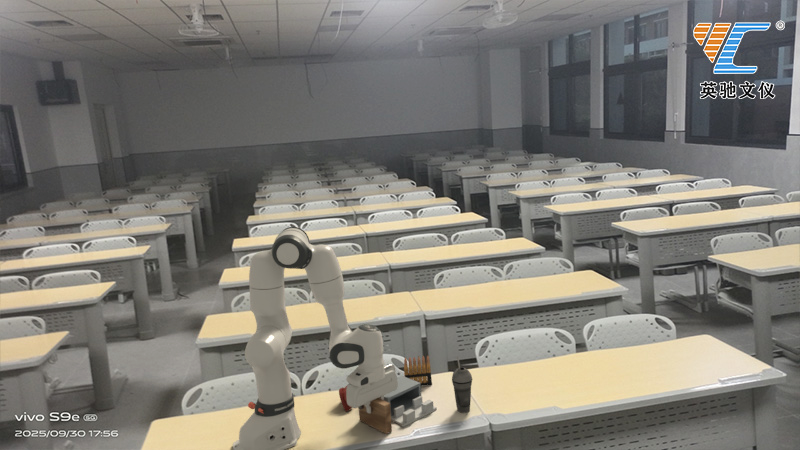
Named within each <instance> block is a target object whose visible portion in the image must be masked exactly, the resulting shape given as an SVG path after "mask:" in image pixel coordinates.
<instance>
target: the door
mask: <svg viewBox="0 0 800 450" xmlns="http://www.w3.org/2000/svg"><path fill="white" fill-rule="evenodd" d="M369 406H371V407H373V412H372V413H370V414H369V413H367V409H366V407H365V405H362V406H359V407H357V408H358V413H359V414H358V415H359V417H358V418H359V421H360V422H362V423H364V424H366V425H367V426H370V427H372V428H374V429H376V430H377V431H379V432H382V433H383V434H386V435H387V434H389V433H391V432H392V431H393V429H392V421H391V410H390V403H389V402H386V401H384V400H382V399H380V398H377V399H375V400H373V401H370V404H369Z"/></svg>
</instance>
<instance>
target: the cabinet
mask: <svg viewBox="0 0 800 450" xmlns="http://www.w3.org/2000/svg"><path fill="white" fill-rule="evenodd" d="M397 381H398V387H397V389H396V390H394V391H392V392H390V393H388V394H386V395H384V399H383V400H384V401H386V402H389V403H390V410H391V422H393V423H395V424H397V425H399V426H401V427H406V426H408V425H410V424H412V423H414V422H416V421H418V420H419V419H422V418H423V417H426V416H428V415H429V414H431V413H433V412H435V411H437V407H436V406H434V401H433V400H431V399H428V400H425V401H423V396H422V386H421V383H420V382H417V381H414V379H413V380H412V379H409V378H407V377H405V376H403V375H400V376H398V377H397Z"/></svg>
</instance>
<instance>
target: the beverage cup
mask: <svg viewBox="0 0 800 450" xmlns="http://www.w3.org/2000/svg"><path fill="white" fill-rule="evenodd" d="M456 360H457V366H458V368H457V369H455V370H454V371H453V373H452V376H451V383H452V386H453V391H454V398H455V399H454V400H455V405H456V411H457V412H458V413H461V414H466V413H469V412H470V411H471V397H472V396H471V395H472V384H473V377H472V373H471V372H470V370H468V369H467V368H465V367H461V364H460V359H459V356H458V355H457V356H456Z"/></svg>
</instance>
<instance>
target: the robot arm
mask: <svg viewBox="0 0 800 450" xmlns="http://www.w3.org/2000/svg"><path fill="white" fill-rule="evenodd" d="M285 269H289V270H290V269H297V270H305V273H306V275H307V280H308V284H309V288H310V291H311V293H312V295H313V297H314V300H315V301H316V302H317V304H320V305H321V306H323V308H324V311H325V314H326V317H327V321H328V325H329V331H330V332H329V337H328V347H329V349H328V350H329V360H330V363H332V365H333V366H334V367H336V368H339V369H349V368H354V367H355V369H354V370H353V371H352V372H350V374H348V375H347V376H346V382H347V383H348V384H347V385H346V386H347V389H346V398H347V404H348V405H349V406H350V407H352V408H351V409H357V408H358V407H359V406H362V405H365V407H366V409H367V413H369V414H370V413H372V412H373V407H371V406H369V404H370V401H373V400H375V399H377V398H380V399H382V400H383V399H384V395H386V394H388V393H390V392H392V391H394V390H396V389H397V387H398V381H397V378H398V377H397V373H396V371H397V370H396V366H395V365H394V364H391V363H388V365H385V360H384V357H383V355H384V341H383V335H382V332H381V330H380V329H379V328H378V327H377V326H375V325H373V324H369V323H367V324H365V323H364V324H360V325H358V326H357V328H355V329H354V330H353V329H352V327H351V326H350V325H349V323H348V319H347V316H346V312H345V308H344V302H343V301H344V297H345V283H344V277H343V272H342V268H341V265H340V262H339V260H338V258H337V254H336V253H335V250H334V249H333V248H332V246H330V245H327V244H321V243H320V244H316V245H315V244H311V243H310V238H309V236H308V234H307V232H306V231H304V229H302V228H299V227H296V226H291V227H287V228H284V229H283V230H281V231H280V233H279V234H278V235H277V236H276V238H275V239H274V242H273V244H272V247H271V249H269V250H262V251H259V252H256V253H255V254H254V255H253V256H252V257H251V260H250V265H249V273H248V274H249V275H248V279H249V280H248V281H249V282H248V285H249V305H250V311H251V312H252V314H253V316H254V319H255V323H256V329H255V332H254V334H253V335H252V336H251V337H250V338H249V339H248V341H247V344H246V346H245V350H244V357H245V360H246V362H247V363H248V364H249V366H251V367H252V370H253V374H254V377H255V381H256V389H257V400H256V403H254V402H253V401H249V402H248V405H247V407H248V408H249V409H250V410H254V411H253V413H252V414H251V415H250V416H249V418H248V419H247V420H246V421H245V422H244V423H243V424H242V425H241V427H240V429H239V433H238V434H239V435H238V439H237V440H235V441H234V442H232V443H233V444H232V450H287V449H290V448H292V447H295V446H296V445H297V444H298V439H299V438H300V436H301V434H302V433H301V429H300V427H299V424H298V421H297V417H296V413H295V398H294V397H295V396H294V393H293V390H292V383H291V373H290V370H289V369H288V368H287V366H286V363H285V360H284V354H285V353H284V352H285V350H286V348H287V347H288V345H289V344H290V342H291V340H292V333H293V332H292V331H293V329H292V326H291V324H290V322H289V318H288V313H287V307H286V295H285V294H286V292H285Z"/></svg>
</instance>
